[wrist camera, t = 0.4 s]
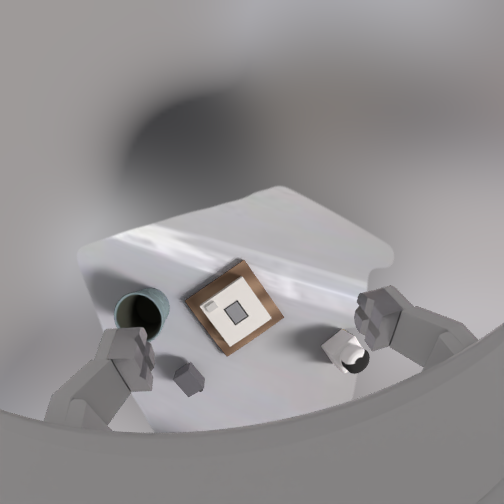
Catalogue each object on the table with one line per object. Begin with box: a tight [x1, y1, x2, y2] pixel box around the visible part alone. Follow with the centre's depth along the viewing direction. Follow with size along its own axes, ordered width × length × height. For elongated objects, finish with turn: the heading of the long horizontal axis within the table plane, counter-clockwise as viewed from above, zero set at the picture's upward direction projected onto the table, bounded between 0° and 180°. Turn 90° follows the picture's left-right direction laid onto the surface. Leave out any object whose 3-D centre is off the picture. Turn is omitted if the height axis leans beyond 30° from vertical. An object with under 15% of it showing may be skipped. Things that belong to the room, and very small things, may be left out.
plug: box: [173, 362, 205, 397], centre depth 56 cm, size 7×4×6 cm, turn 35°
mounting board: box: [185, 260, 284, 356], centre depth 60 cm, size 16×16×2 cm
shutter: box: [225, 301, 247, 324], centre depth 57 cm, size 4×3×1 cm
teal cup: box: [114, 288, 170, 342], centre depth 53 cm, size 10×10×12 cm
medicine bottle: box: [321, 329, 369, 374], centre depth 58 cm, size 7×7×12 cm
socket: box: [200, 276, 272, 347], centre depth 58 cm, size 11×11×4 cm
